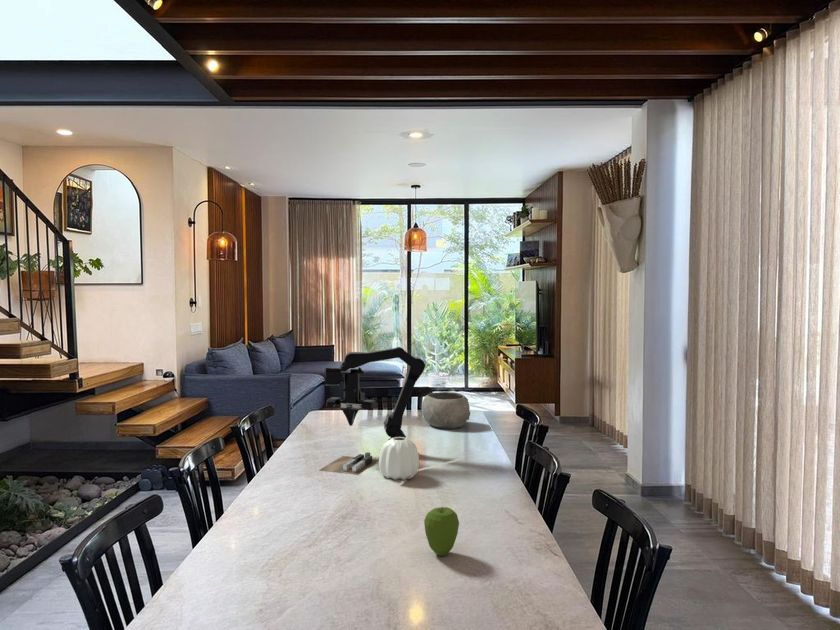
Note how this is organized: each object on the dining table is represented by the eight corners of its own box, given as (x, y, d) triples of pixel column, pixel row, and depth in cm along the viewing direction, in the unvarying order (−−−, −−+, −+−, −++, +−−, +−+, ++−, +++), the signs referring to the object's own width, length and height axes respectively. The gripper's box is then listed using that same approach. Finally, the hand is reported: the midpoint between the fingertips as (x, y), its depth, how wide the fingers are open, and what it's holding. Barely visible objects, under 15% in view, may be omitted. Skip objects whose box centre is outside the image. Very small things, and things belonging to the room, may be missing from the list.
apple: (438, 543, 150) (439, 498, 150) (465, 553, 145) (466, 506, 145) (416, 554, 144) (417, 507, 143) (444, 565, 138) (445, 516, 138)
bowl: (415, 428, 279) (415, 396, 279) (428, 419, 301) (429, 389, 301) (463, 432, 272) (464, 400, 272) (473, 422, 294) (474, 392, 294)
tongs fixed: (376, 458, 224) (376, 452, 224) (356, 472, 206) (356, 465, 206) (367, 458, 225) (367, 451, 225) (347, 471, 207) (347, 464, 207)
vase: (414, 484, 197) (414, 444, 196) (373, 481, 200) (374, 441, 199) (422, 472, 210) (423, 435, 210) (384, 469, 213) (384, 432, 213)
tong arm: (364, 460, 221) (364, 454, 221) (347, 471, 207) (347, 464, 207) (359, 459, 222) (359, 454, 222) (342, 470, 208) (342, 464, 208)
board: (379, 461, 223) (379, 459, 223) (358, 477, 204) (358, 474, 204) (342, 457, 228) (342, 455, 228) (318, 472, 208) (318, 470, 208)
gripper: (381, 383, 234) (381, 423, 234) (338, 380, 239) (337, 419, 240) (371, 387, 223) (370, 429, 224) (325, 384, 229) (325, 425, 229)
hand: (351, 425), depth 229 cm, fingers closed
